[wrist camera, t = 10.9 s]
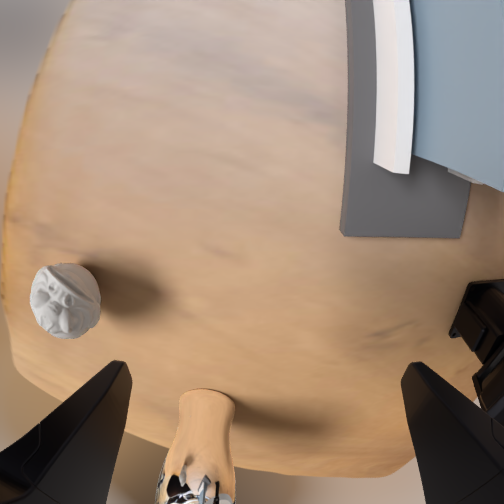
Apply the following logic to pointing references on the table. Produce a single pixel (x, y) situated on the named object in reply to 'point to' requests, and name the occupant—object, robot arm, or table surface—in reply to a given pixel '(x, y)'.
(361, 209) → the hinge frame
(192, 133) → the table surface
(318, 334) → the table surface
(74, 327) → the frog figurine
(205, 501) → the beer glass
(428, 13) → the door
